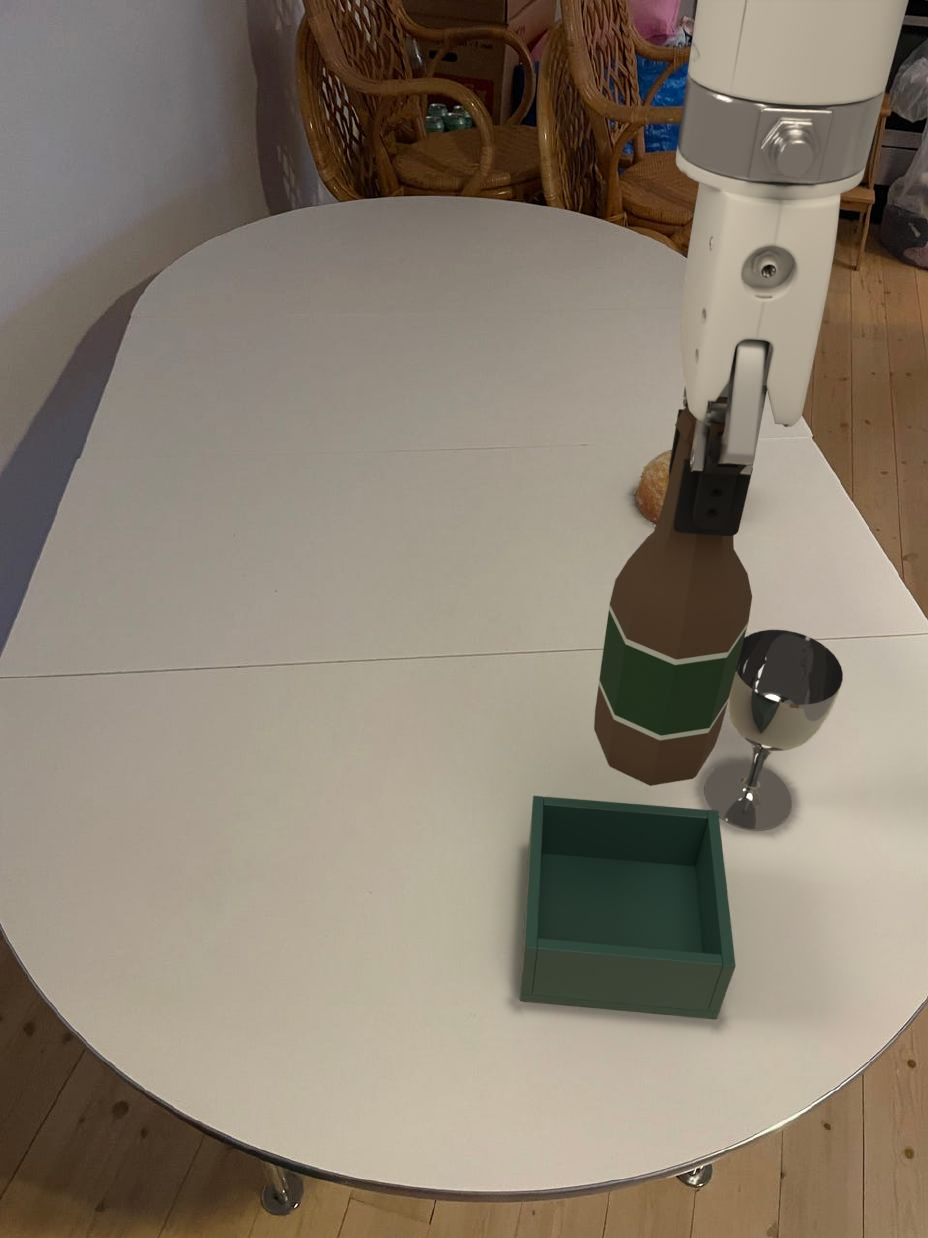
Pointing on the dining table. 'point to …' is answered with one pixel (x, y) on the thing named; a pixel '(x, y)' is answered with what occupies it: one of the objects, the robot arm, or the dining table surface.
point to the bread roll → (653, 486)
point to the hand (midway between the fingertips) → (701, 501)
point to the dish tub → (626, 908)
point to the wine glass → (772, 721)
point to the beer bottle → (671, 643)
